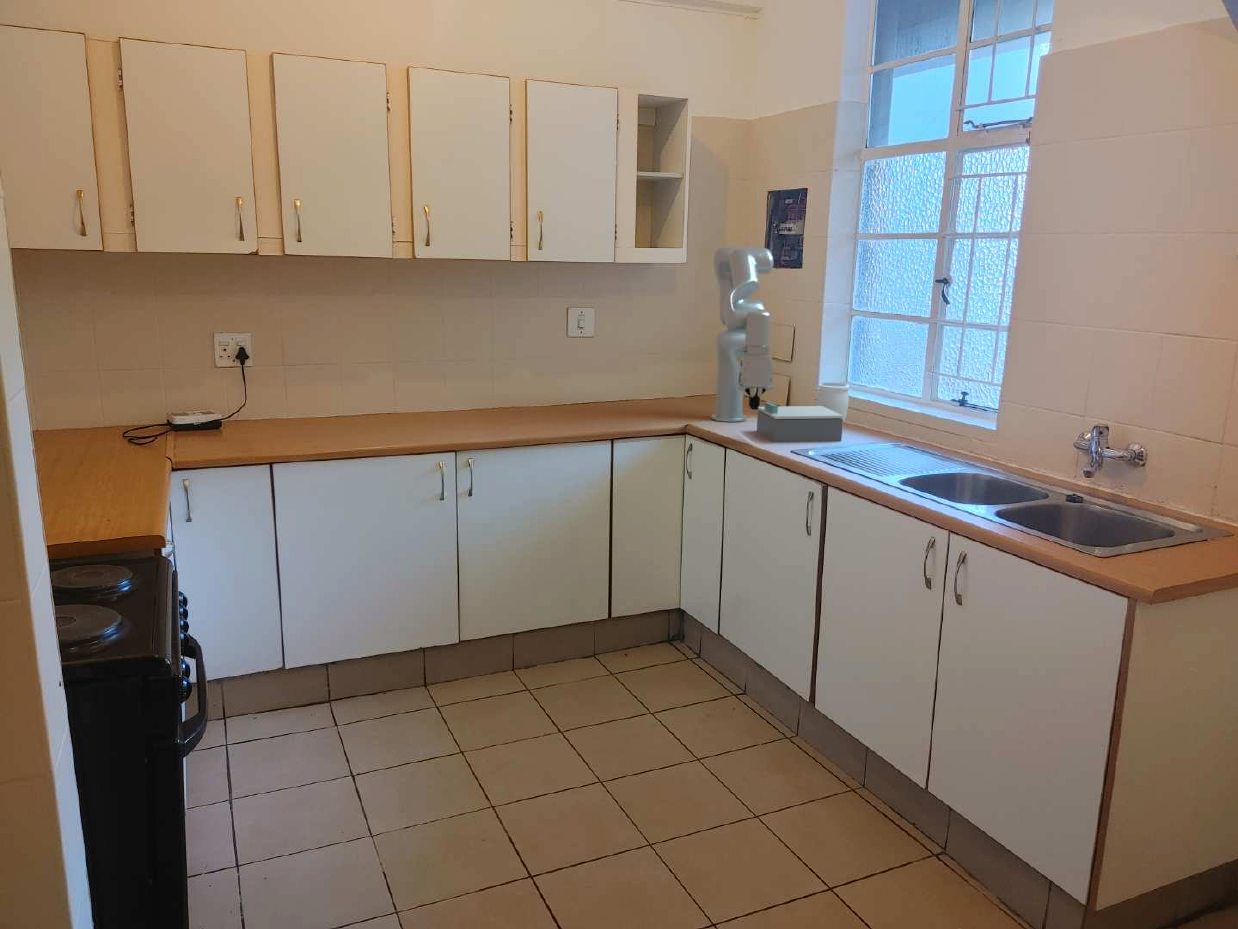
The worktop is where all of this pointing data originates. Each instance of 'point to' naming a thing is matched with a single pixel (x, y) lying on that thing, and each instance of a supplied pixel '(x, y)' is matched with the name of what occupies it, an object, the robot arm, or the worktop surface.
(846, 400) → the jar
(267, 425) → the worktop surface
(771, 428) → the storage box
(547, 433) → the worktop surface
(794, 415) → the lid
